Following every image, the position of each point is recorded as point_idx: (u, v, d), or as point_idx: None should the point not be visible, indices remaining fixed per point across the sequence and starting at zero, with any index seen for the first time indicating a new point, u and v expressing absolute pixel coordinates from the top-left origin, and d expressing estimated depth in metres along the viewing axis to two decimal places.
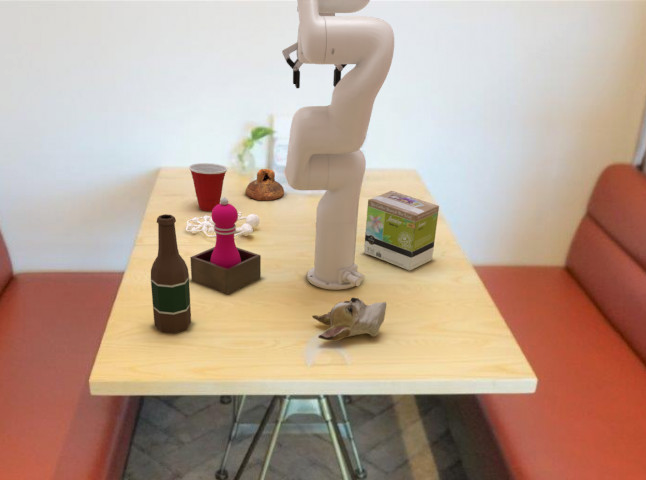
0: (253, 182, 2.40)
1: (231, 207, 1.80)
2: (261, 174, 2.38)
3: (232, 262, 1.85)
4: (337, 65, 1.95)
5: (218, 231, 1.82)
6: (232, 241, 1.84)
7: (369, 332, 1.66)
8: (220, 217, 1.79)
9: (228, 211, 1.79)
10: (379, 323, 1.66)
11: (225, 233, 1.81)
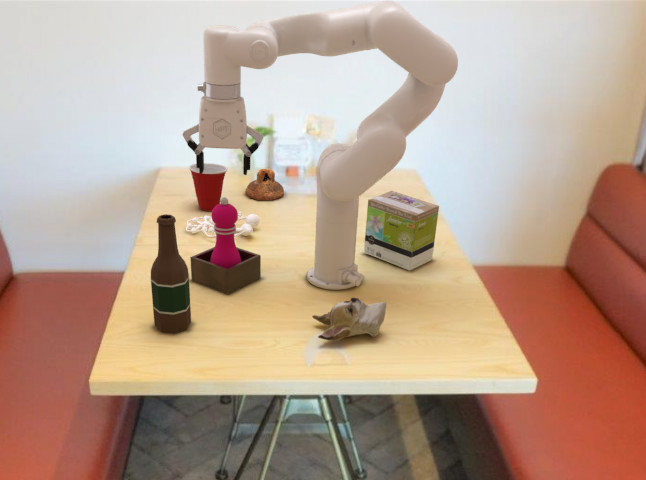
0: (253, 182, 2.40)
1: (231, 207, 1.80)
2: (261, 174, 2.38)
3: (232, 262, 1.85)
4: (244, 150, 1.73)
5: (218, 231, 1.82)
6: (232, 241, 1.84)
7: (369, 332, 1.66)
8: (220, 217, 1.79)
9: (228, 211, 1.79)
10: (379, 323, 1.66)
11: (225, 233, 1.81)
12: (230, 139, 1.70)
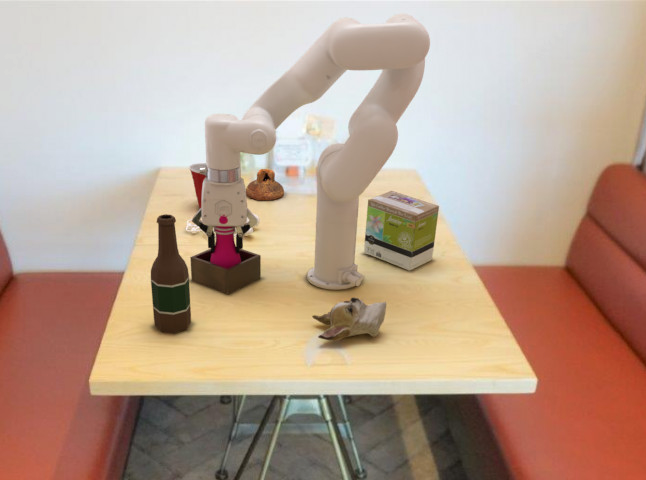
0: (253, 182, 2.40)
1: None
2: (261, 174, 2.38)
3: (232, 262, 1.85)
4: (238, 230, 1.82)
5: (218, 231, 1.82)
6: (232, 241, 1.84)
7: (369, 332, 1.66)
8: (220, 217, 1.79)
9: None
10: (379, 323, 1.66)
11: (225, 233, 1.81)
12: (231, 218, 1.79)
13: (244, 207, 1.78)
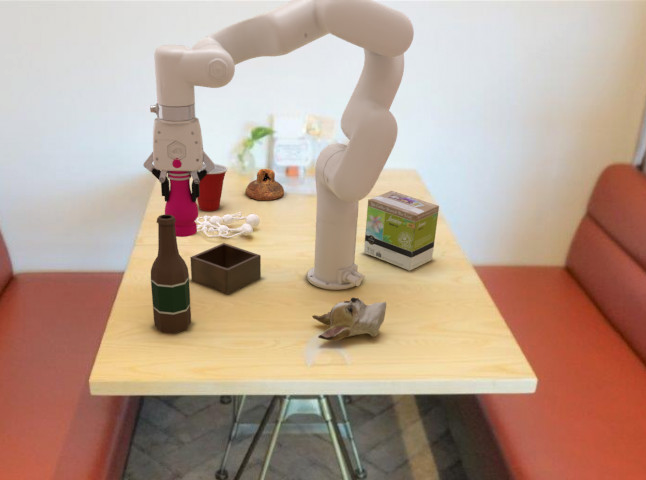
0: (253, 182, 2.40)
1: None
2: (261, 174, 2.38)
3: (188, 211, 1.70)
4: (194, 176, 1.68)
5: (171, 176, 1.67)
6: (187, 188, 1.69)
7: (369, 332, 1.66)
8: None
9: None
10: (379, 323, 1.66)
11: (179, 179, 1.67)
12: (185, 161, 1.64)
13: (199, 149, 1.63)
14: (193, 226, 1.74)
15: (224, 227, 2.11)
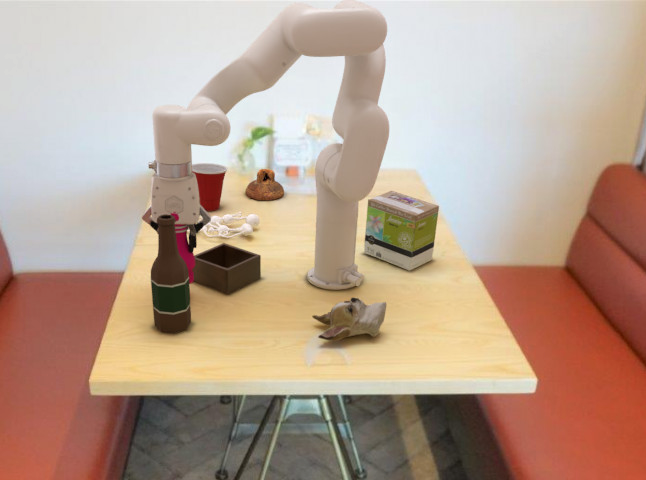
0: (253, 182, 2.40)
1: None
2: (261, 174, 2.38)
3: (185, 262, 1.75)
4: (191, 228, 1.73)
5: None
6: (184, 240, 1.75)
7: (369, 332, 1.66)
8: (171, 214, 1.70)
9: None
10: (379, 323, 1.66)
11: (176, 231, 1.72)
12: (183, 215, 1.70)
13: (196, 204, 1.69)
14: (190, 275, 1.79)
15: (224, 227, 2.11)
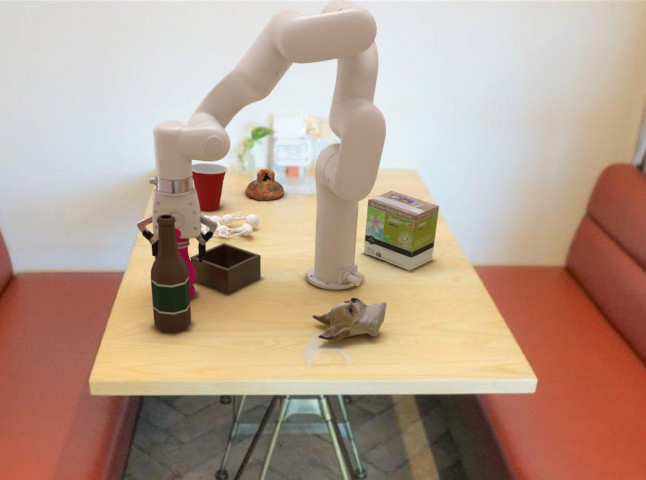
0: (253, 182, 2.40)
1: None
2: (261, 174, 2.38)
3: None
4: (199, 239, 1.74)
5: None
6: (186, 255, 1.77)
7: (369, 332, 1.66)
8: None
9: None
10: (379, 323, 1.66)
11: (178, 247, 1.74)
12: (184, 230, 1.71)
13: (197, 218, 1.70)
14: (191, 290, 1.81)
15: (224, 227, 2.11)
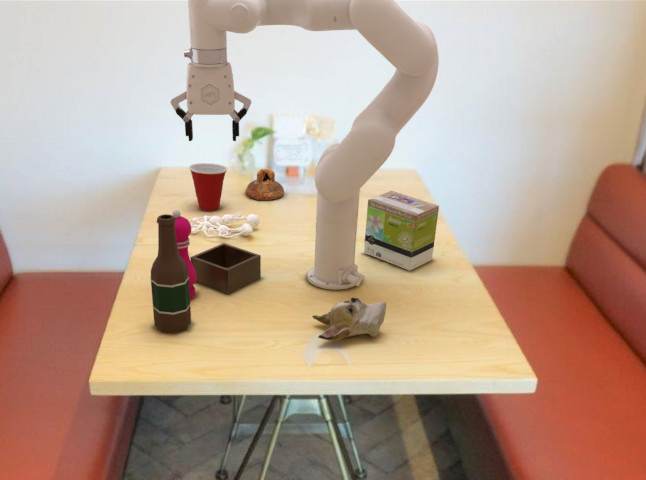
0: (253, 182, 2.40)
1: (184, 220, 1.72)
2: (261, 174, 2.38)
3: None
4: (233, 116, 1.73)
5: None
6: (186, 255, 1.77)
7: (369, 332, 1.66)
8: None
9: (180, 225, 1.71)
10: (379, 323, 1.66)
11: (178, 247, 1.74)
12: (218, 105, 1.71)
13: (232, 92, 1.70)
14: (191, 290, 1.81)
15: (224, 227, 2.11)
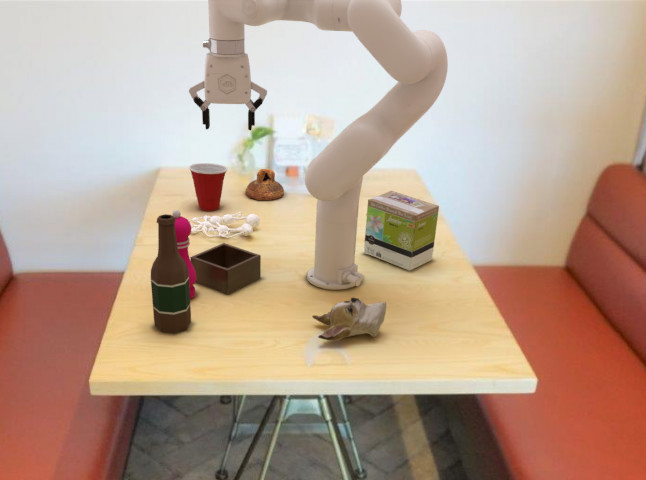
0: (253, 182, 2.40)
1: (184, 220, 1.72)
2: (261, 174, 2.38)
3: None
4: (249, 106, 1.78)
5: None
6: (186, 255, 1.77)
7: (369, 332, 1.66)
8: None
9: (180, 224, 1.71)
10: (379, 323, 1.66)
11: (178, 247, 1.74)
12: (235, 94, 1.76)
13: (248, 83, 1.75)
14: (191, 290, 1.81)
15: (224, 227, 2.11)
